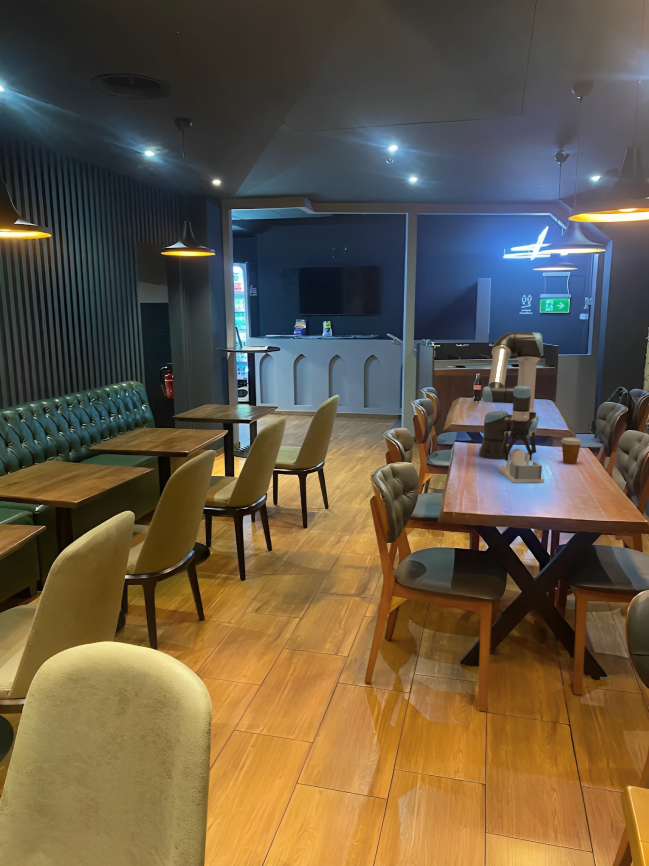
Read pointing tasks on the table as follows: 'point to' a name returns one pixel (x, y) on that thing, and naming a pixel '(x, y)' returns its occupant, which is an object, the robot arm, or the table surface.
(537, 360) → the robot arm
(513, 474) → the dock
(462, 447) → the table surface
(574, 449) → the disposable coffee cup
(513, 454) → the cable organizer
